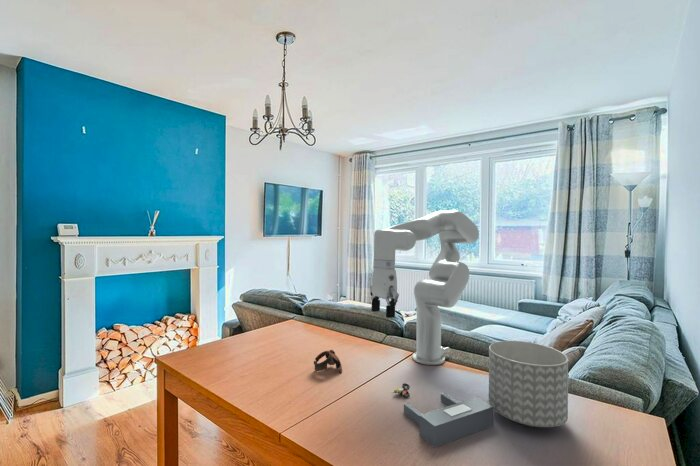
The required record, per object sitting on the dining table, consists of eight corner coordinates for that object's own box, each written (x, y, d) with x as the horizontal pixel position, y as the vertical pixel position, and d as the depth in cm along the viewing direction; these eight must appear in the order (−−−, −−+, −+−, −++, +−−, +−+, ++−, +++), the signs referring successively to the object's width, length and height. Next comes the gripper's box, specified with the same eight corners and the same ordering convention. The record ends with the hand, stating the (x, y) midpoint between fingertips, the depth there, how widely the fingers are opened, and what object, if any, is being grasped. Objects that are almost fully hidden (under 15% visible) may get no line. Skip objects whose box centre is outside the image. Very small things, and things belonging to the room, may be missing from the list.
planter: (537, 448, 78) (538, 371, 78) (473, 410, 95) (474, 346, 95) (583, 427, 87) (584, 357, 87) (517, 395, 104) (517, 337, 104)
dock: (450, 399, 101) (451, 381, 101) (493, 425, 88) (493, 405, 88) (396, 415, 92) (396, 396, 92) (434, 447, 79) (434, 425, 79)
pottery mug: (343, 378, 116) (332, 360, 115) (319, 388, 118) (308, 370, 116) (346, 357, 128) (335, 340, 126) (324, 366, 130) (314, 349, 128)
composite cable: (403, 385, 111) (403, 377, 111) (417, 388, 109) (417, 381, 109) (392, 397, 103) (392, 389, 103) (406, 401, 100) (407, 393, 100)
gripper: (407, 266, 110) (406, 319, 110) (380, 262, 126) (379, 308, 125) (388, 267, 107) (386, 320, 107) (362, 263, 122) (361, 309, 122)
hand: (382, 314), depth 116 cm, fingers open, 9 cm apart
